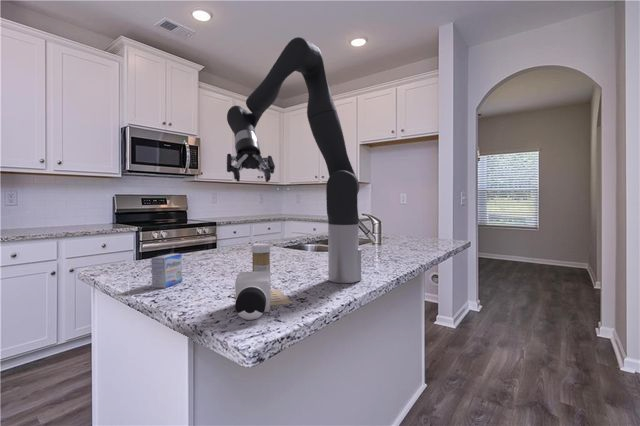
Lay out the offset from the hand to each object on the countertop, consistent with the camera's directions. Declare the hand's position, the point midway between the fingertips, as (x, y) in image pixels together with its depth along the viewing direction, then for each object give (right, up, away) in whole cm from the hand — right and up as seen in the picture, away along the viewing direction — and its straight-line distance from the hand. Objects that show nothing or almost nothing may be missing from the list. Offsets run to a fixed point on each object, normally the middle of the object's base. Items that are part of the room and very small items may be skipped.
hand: (253, 179), depth 96 cm
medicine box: (-25, -31, -1) cm, 40 cm away
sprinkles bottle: (+5, -31, -15) cm, 35 cm away
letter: (+5, -31, -15) cm, 35 cm away
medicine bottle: (+4, -27, -19) cm, 33 cm away
